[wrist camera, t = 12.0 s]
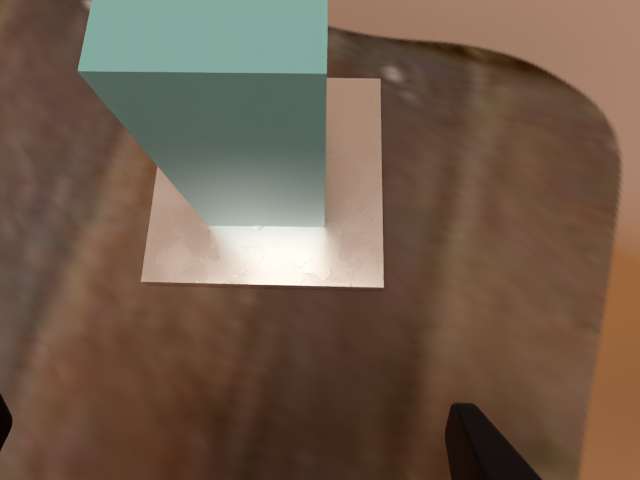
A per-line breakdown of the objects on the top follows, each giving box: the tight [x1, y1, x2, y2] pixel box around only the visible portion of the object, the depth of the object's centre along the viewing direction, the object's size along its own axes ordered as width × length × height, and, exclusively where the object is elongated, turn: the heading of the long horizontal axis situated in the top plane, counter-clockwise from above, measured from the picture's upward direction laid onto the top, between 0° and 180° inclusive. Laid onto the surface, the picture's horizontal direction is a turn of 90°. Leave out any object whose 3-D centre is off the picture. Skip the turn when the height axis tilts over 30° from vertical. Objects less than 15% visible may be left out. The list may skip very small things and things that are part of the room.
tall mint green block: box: [78, 0, 328, 227], centre depth 17 cm, size 6×6×12 cm
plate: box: [141, 78, 384, 291], centre depth 22 cm, size 12×12×4 cm
